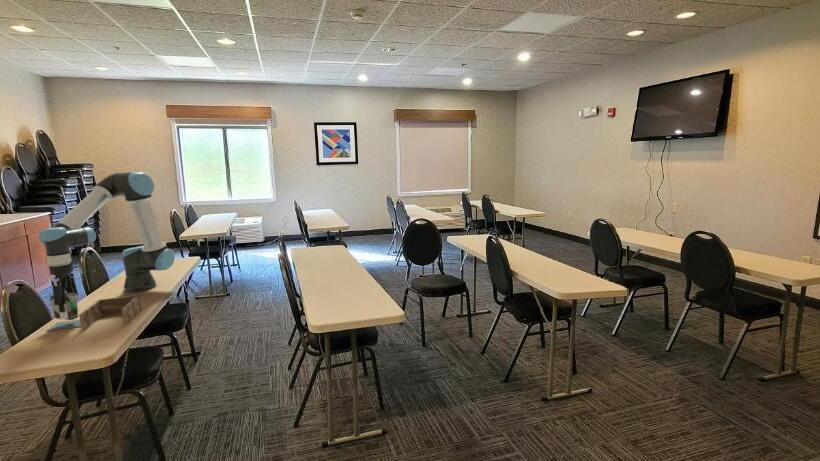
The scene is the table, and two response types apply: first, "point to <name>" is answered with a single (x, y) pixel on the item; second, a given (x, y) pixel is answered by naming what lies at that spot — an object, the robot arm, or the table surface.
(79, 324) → the pad
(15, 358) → the table surface
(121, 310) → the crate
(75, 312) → the food container
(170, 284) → the table surface
